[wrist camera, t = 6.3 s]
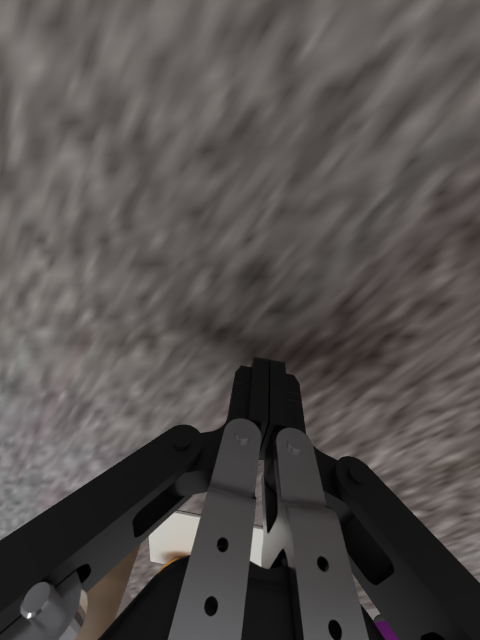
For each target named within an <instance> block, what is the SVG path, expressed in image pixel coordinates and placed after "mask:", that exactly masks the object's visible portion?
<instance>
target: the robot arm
mask: <svg viewBox="0 0 480 640" xmlns="http://www.w3.org/2000/svg"><path fill="white" fill-rule="evenodd" d="M300 394H301V392H300V384H299V382H298V381H297V379H296V378H295V376H294V375H290V374H286V369H285V363H284V362H280V361H274V360H268V359H263V358H258V357H253V361H252V365H251V367H247V366H242V365H241V366H240V367H239V369H238V370H237V371H236V373H235V378H234V383H233V388H232V393H231V399H230V405H229V410H228V416H227V421H226V423H225V424H224V425H223V426H222V427H221V428H219V429H217V430H215V431H211V432H205V433H200V432H199V431H198V430H197V429H196V428H194V427H192V426H190V425H177V426H174V427H172V428H171V429H169V430H168V431H166V432H164V433H163V434H161V435H160V436H158V437H157V438H155V439H154V440H152V441H151V442H149V443H148V444H146V445H145V446H143V447H142V448H140V449H139V450H137V451H136V452H134V453H133V454H131V455H130V456H128V457H127V458H125V459H123V460H122V461H120V462H119V463H117V464H116V465H114V466H113V467H111V468H110V469H108V470H107V471H105V472H104V473H102V474H101V475H99V476H98V477H96V478H95V479H93V480H92V481H90V482H89V483H87V484H85V485H84V486H82V487H81V488H79V489H78V490H76V491H75V492H73V493H72V494H70V495H69V496H67V497H66V498H64V499H63V500H61V501H60V502H58V503H57V504H55V505H54V506H52V507H51V508H49V509H48V510H46V511H44V512H43V513H41V514H40V515H38V516H37V517H35V518H34V519H32V520H31V521H29V522H28V523H26V524H25V525H23V526H22V527H20V528H19V529H17V530H16V531H14V532H13V533H11V534H10V535H8V536H6V537H5V538H3V539H2V540H0V640H74V639H75V638H76V636H77V635H78V633H79V631H80V629H81V627H82V625H83V622H84V620H85V616H86V612H87V605H88V600H87V594H86V593H87V592H88V591H89V590H90V589H91V588H92V587H93V586H95V585H96V584H97V583H98V582H99V581H100V580H101V579H102V578H103V577H104V576H105V575H107V574H108V573H109V572H110V571H111V570H112V569H113V568H114V567H115V566H116V565H117V564H119V563H120V562H121V561H122V560H123V559H124V558H125V557H126V556H127V555H128V554H129V553H131V552H132V551H133V550H134V549H135V548H136V547H137V546H138V545H139V544H140V543H141V542H143V541H144V540H145V539H146V538H147V537H148V536H149V535H150V534H151V533H152V532H153V531H155V530H156V529H157V528H158V527H159V526H160V525H161V524H162V523H163V522H164V521H165V520H167V519H168V518H169V517H170V516H171V515H172V514H173V513H174V512H175V511H176V510H177V509H179V508H180V507H181V506H182V505H183V504H184V503H185V502H186V501H187V500H188V499H189V498H190V497H191V496H192V495H193V494H198V493H203V492H207V494H206V498H205V502H204V505H203V509H202V513H201V517H200V520H199V524H198V528H197V532H196V536H195V539H194V543H193V547H192V551H191V554H190V555H188V556H185V557H182V558H179V559H177V560H175V561H173V562H172V563H170V564H169V565H167V566H166V567H164V568H163V569H162V570H161V571H160V572H159V573H157V574H156V575H155V576H154V577H153V578H152V579H151V581H150V582H149V583H148V584H147V585H146V586H145V587H144V588H143V589H142V591H141V592H140V593H139V594H138V595H137V596H136V597H135V598H134V599H133V601H132V602H131V603H130V604H129V605H128V606H127V607H126V608H125V610H124V611H123V612H122V613H121V614H120V615H119V616H118V617H117V618H116V619H115V621H114V622H113V623H112V624H111V625H110V626H109V627H108V628H107V629H106V631H105V632H104V633H103V634H102V635H101V636H100V637H99V638H98V639H97V640H385V639H384V637H383V635H382V634H381V632H380V631H379V629H378V628H377V626H376V624H375V623H374V621H373V620H372V619H371V617H370V616H369V615H368V613H367V612H366V610H365V609H364V608H363V607H362V605H361V604H360V602H359V598H358V594H357V590H356V586H355V582H354V578H353V575H354V576H355V578H356V579H357V580H358V582H359V583H360V585H361V586H362V588H363V589H364V591H365V592H366V593H367V595H368V596H369V598H370V599H371V601H372V602H373V603H374V605H375V606H376V608H377V609H378V611H379V612H380V613H381V615H382V616H383V618H384V619H385V621H386V622H387V623H388V625H389V626H390V628H391V629H392V631H393V632H394V634H395V635H396V636H397V638H398V639H399V640H480V583H479V582H478V581H477V580H476V579H475V578H474V577H473V576H472V575H471V574H470V573H469V571H468V570H467V569H466V568H465V567H464V566H463V565H462V564H461V563H460V562H459V561H458V560H457V559H456V558H455V557H454V556H453V555H452V554H451V553H450V552H449V551H448V550H447V548H446V547H445V546H444V545H443V544H442V543H441V542H440V541H439V540H438V539H437V538H436V537H435V536H434V535H433V534H432V533H431V532H430V531H429V530H428V529H427V528H426V527H425V526H424V524H423V523H422V522H421V521H420V520H419V519H418V518H417V517H416V516H415V515H414V514H413V513H412V512H411V511H410V510H409V509H408V508H407V507H406V506H405V505H404V504H403V503H402V502H401V500H400V499H399V498H398V497H397V496H396V495H395V494H394V493H393V492H392V491H391V490H390V489H389V488H388V487H387V486H386V485H385V484H384V483H383V482H382V481H381V480H380V479H379V477H378V476H377V475H376V474H375V473H374V472H373V471H372V470H371V469H370V468H369V467H368V466H367V465H366V464H365V463H363V462H362V461H360V460H359V459H357V458H354V457H350V456H345V457H342V458H340V459H339V460H336V459H334V458H332V457H330V456H328V455H326V454H324V453H322V452H320V451H319V450H318V449H316V448H315V447H314V446H313V444H312V442H311V440H310V439H309V437H308V436H307V435H306V431H305V423H304V415H303V407H302V403H301V401H302V400H301V395H300ZM259 460H264V472H263V475H262V479H261V484H262V508H263V546H262V555H261V566H259V565H257V564H255V563H253V562H252V561H250V554H251V545H252V536H253V527H254V518H255V509H256V497H255V487H256V478H257V470H258V462H259ZM352 573H353V574H352Z"/></svg>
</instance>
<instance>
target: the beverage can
mask: <svg viewBox="0 0 480 640" xmlns="http://www.w3.org/2000/svg"><path fill="white" fill-rule="evenodd" d="M374 623H375V624H376V626H377V628H378V629H379V631H380V632H381V634H382V635H383V637H384V639H385V640H399V639H398V638H397V636H396V635H395V634H394V632H393V631H392V629H391V628H390V626H389V625H388V623H387V622H386V621H385V619H384V618H383V616H382V615H381V614H380V615H377V616H376V617H375V618H374Z"/></svg>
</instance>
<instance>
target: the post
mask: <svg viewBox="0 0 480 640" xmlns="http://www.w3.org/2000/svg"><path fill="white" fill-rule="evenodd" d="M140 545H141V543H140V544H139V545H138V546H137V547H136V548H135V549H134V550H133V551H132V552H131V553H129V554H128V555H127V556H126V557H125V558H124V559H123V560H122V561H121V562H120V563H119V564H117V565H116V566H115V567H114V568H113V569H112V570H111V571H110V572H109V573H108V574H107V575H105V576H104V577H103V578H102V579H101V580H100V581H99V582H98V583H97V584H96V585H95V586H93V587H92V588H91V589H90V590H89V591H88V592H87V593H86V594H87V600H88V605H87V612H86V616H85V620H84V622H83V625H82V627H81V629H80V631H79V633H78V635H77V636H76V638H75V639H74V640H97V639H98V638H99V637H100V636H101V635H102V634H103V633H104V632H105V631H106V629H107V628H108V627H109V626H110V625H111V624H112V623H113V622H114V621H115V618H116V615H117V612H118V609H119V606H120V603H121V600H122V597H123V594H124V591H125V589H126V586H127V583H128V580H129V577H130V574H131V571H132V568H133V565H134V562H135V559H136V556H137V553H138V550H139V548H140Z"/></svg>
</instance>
